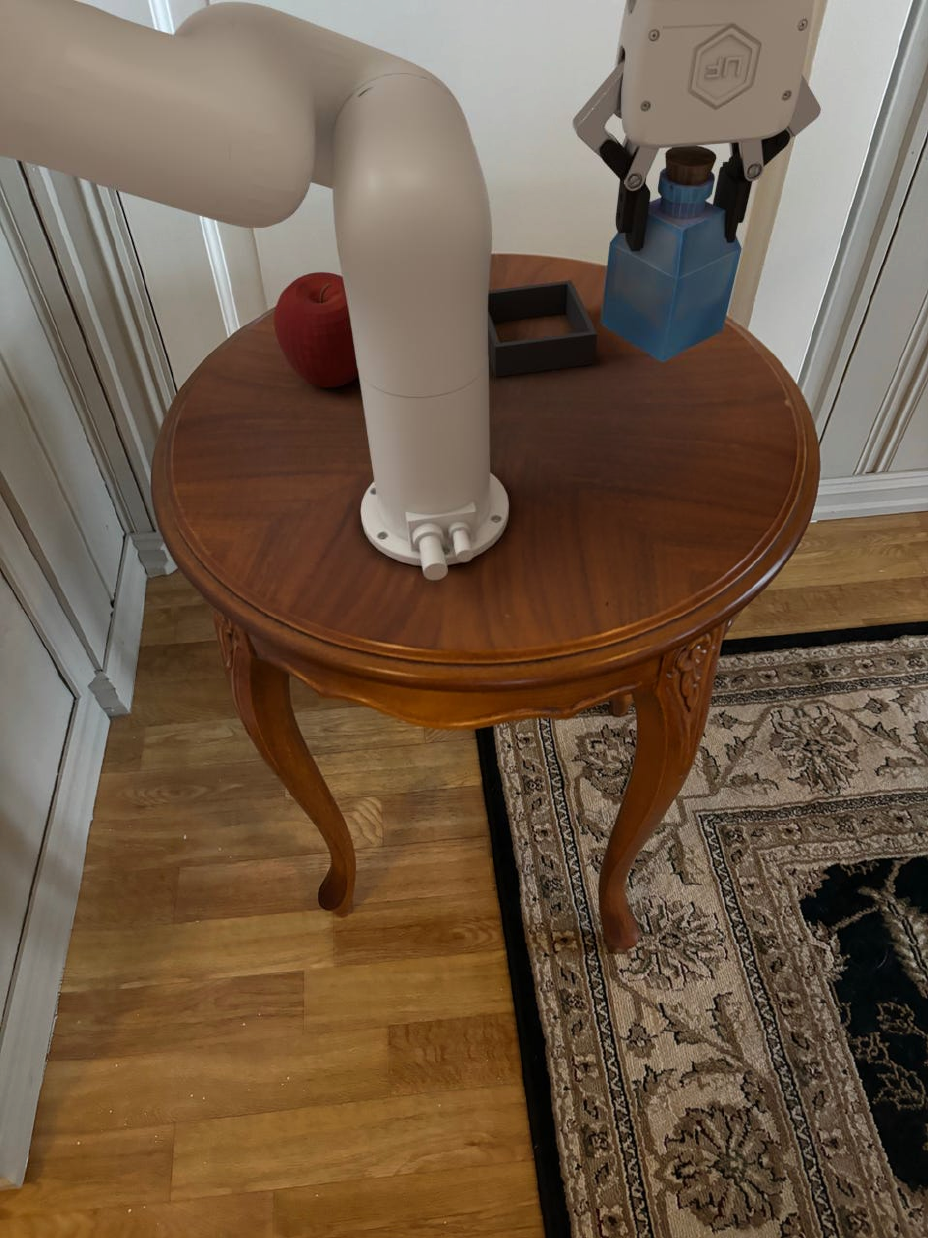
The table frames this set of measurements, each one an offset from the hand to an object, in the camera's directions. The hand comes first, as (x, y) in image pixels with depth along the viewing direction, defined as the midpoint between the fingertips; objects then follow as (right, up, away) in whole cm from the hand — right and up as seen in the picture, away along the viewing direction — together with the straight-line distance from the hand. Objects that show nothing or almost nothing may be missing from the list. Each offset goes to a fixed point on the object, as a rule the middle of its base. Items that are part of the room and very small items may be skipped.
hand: (676, 234), depth 59 cm
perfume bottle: (0, -5, +5) cm, 7 cm away
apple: (-27, -1, +30) cm, 41 cm away
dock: (-7, +3, +33) cm, 34 cm away
